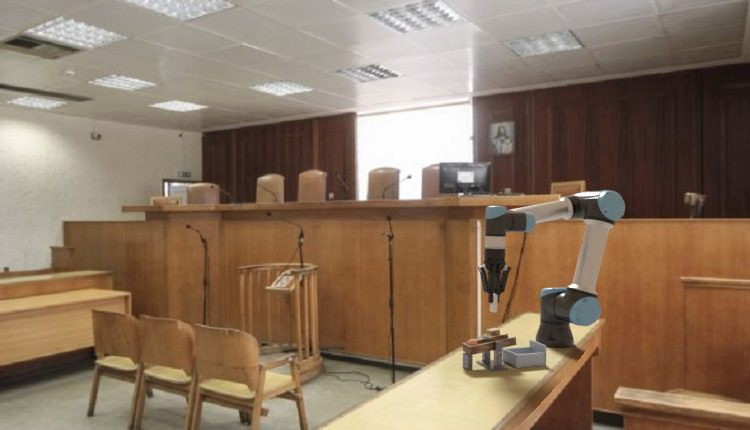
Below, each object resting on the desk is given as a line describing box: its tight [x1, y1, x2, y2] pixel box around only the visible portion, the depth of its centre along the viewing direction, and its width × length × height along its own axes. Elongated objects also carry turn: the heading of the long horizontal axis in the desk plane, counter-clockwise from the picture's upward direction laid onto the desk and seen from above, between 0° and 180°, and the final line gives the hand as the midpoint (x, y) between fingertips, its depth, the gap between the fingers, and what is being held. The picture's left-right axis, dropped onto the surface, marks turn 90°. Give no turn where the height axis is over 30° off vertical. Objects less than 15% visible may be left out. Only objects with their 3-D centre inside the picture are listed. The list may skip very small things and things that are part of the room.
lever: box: [461, 327, 517, 356], centre depth 191 cm, size 18×14×3 cm
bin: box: [502, 339, 547, 369], centre depth 192 cm, size 12×9×7 cm
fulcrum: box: [462, 335, 509, 372], centre depth 186 cm, size 13×11×10 cm
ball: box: [467, 338, 477, 346], centre depth 185 cm, size 3×3×3 cm
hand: (493, 311), depth 198 cm, fingers closed
